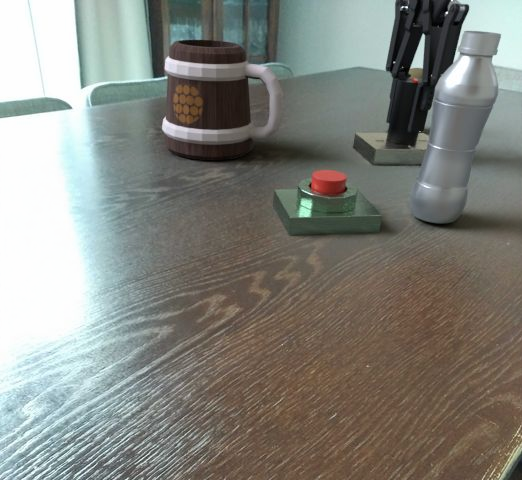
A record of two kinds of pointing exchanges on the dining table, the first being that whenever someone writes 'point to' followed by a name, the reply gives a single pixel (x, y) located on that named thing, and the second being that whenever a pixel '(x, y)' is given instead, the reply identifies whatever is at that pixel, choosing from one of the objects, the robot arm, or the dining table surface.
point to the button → (328, 182)
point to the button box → (325, 211)
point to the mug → (214, 100)
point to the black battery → (403, 112)
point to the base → (390, 149)
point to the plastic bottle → (456, 129)
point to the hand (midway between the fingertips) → (404, 126)
